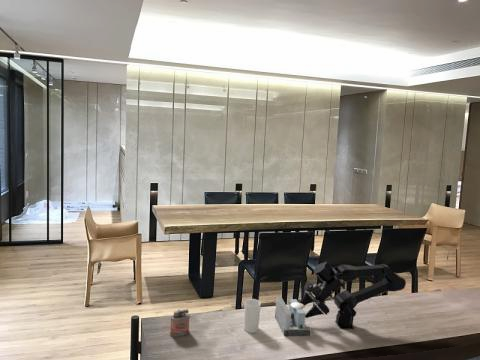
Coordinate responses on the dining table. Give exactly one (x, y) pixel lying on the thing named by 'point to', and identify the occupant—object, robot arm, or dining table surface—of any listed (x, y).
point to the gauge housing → (287, 320)
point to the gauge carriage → (297, 313)
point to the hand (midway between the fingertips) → (301, 312)
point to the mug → (251, 315)
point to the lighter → (180, 323)
